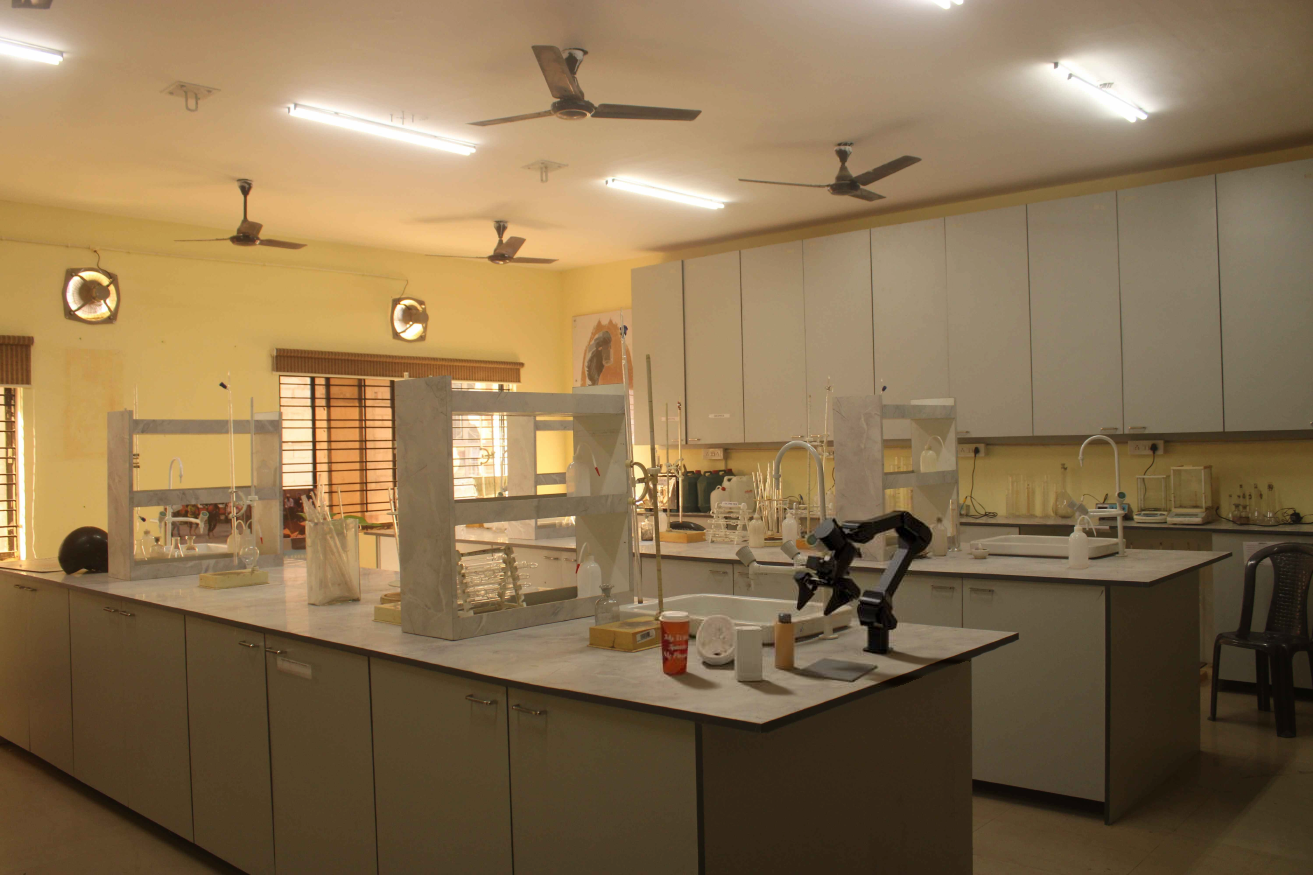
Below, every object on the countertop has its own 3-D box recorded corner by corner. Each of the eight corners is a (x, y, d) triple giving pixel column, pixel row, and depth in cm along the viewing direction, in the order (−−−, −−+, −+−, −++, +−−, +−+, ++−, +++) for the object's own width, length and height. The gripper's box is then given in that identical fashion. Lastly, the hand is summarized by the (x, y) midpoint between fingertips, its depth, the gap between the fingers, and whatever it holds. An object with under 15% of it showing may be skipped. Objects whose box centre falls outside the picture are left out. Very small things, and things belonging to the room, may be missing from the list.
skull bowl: (741, 647, 250) (740, 612, 243) (737, 687, 238) (735, 652, 232) (701, 645, 252) (699, 610, 245) (695, 685, 240) (692, 649, 233)
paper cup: (663, 676, 224) (663, 616, 224) (655, 668, 232) (655, 611, 232) (695, 674, 226) (695, 615, 227) (685, 667, 234) (686, 609, 234)
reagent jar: (779, 663, 238) (780, 611, 238) (797, 666, 235) (797, 613, 235) (771, 667, 234) (771, 614, 234) (789, 670, 231) (789, 616, 231)
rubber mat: (823, 659, 243) (823, 657, 243) (877, 666, 236) (877, 664, 236) (795, 673, 228) (795, 672, 228) (851, 681, 220) (851, 680, 220)
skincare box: (759, 676, 225) (759, 625, 225) (763, 681, 220) (763, 628, 220) (733, 677, 224) (733, 625, 224) (736, 682, 220) (737, 629, 220)
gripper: (796, 539, 248) (767, 588, 242) (850, 546, 234) (821, 598, 227) (818, 565, 254) (791, 613, 247) (873, 573, 239) (845, 625, 232)
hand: (811, 612), depth 239 cm, fingers open, 9 cm apart
